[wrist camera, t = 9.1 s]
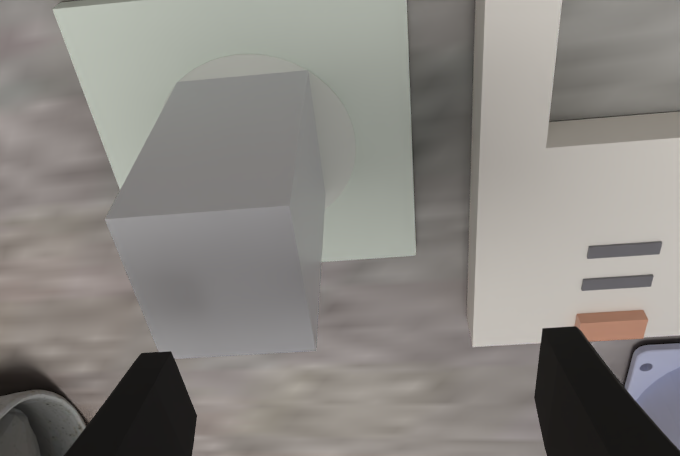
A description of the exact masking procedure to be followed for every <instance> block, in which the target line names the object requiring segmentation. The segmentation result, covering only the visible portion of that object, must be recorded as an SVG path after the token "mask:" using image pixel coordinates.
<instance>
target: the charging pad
mask: <svg viewBox="0 0 680 456" xmlns="http://www.w3.org/2000/svg"><path fill="white" fill-rule="evenodd" d="M53 12H54V15H55V17H56V20H57V23H58V25H59V28H60V31H61V33H62V36H63V39H64V41H65V44H66V47H67V49H68V52H69V55H70V57H71V60H72V63H73V65H74V68H75V71H76V74H77V76H78V79H79V82H80V84H81V87H82V90H83V92H84V95H85V98H86V100H87V103H88V106H89V108H90V111H91V114H92V116H93V119H94V122H95V124H96V127H97V130H98V132H99V135H100V138H101V140H102V143H103V146H104V148H105V151H106V154H107V156H108V159H109V162H110V164H111V167H112V170H113V172H114V175H115V178H116V180H117V183H118V186H119V188H120V189H121V188H122V186H123V184H124V182H125V180H126V178H127V176H128V174H129V172H130V170H131V169H132V167H133V165H134V163H135V161H136V159H137V157H138V155H139V153H140V151H141V150H142V148H143V146H144V144H145V142H146V140H147V138H148V136H149V134H150V132H151V131H152V129H153V127H154V125H155V123H156V121H157V119H158V117H159V115H160V113H161V112H162V110H163V108H164V106H165V104H166V102H167V100H168V98H169V96H170V94H171V93H172V91H173V89H174V87H175V85H176V83H177V82H182V81H193V80H204V79H215V78H226V77H237V76H248V75H259V74H271V73H282V72H293V71H304V70H308V72H309V79H310V87H311V94H312V101H313V108H314V115H315V123H316V130H317V137H318V144H319V151H320V159H321V166H322V173H323V180H324V187H325V212H324V229H323V245H322V262H329V261H344V260H359V259H374V258H388V257H403V256H416V239H415V212H414V185H413V158H412V131H411V104H410V77H409V50H408V23H407V0H80V1H70V2H60V3H59V4H58V5H57V6H56V7H54V8H53Z"/></svg>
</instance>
